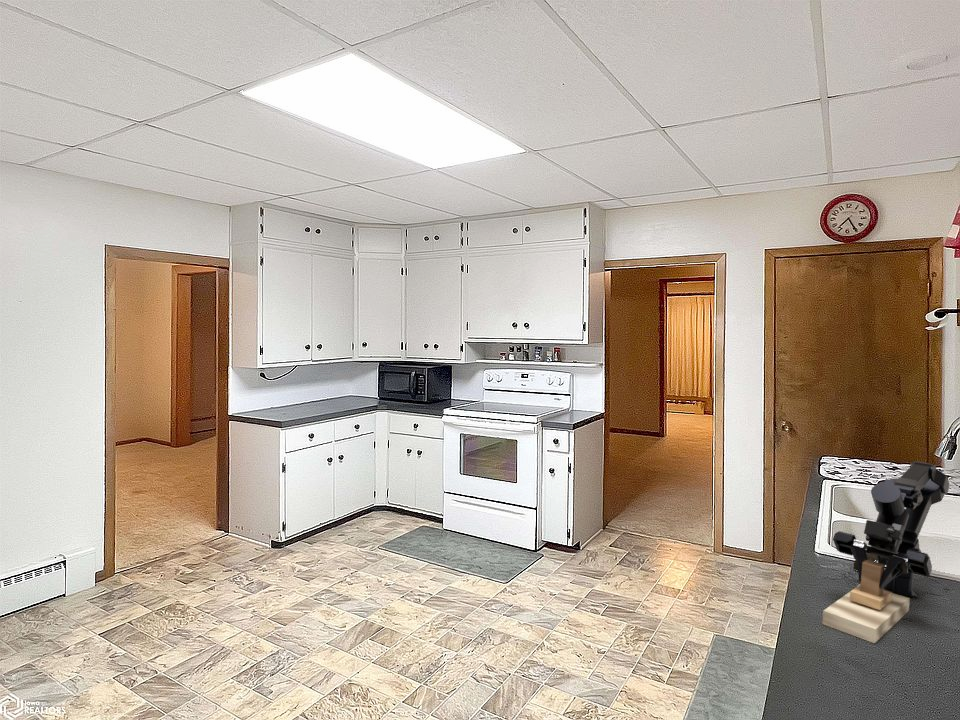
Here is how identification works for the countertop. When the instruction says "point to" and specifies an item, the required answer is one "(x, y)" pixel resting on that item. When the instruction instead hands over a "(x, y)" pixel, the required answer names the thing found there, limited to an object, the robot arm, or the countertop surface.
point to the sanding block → (871, 587)
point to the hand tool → (870, 558)
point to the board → (865, 617)
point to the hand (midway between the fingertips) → (869, 584)
